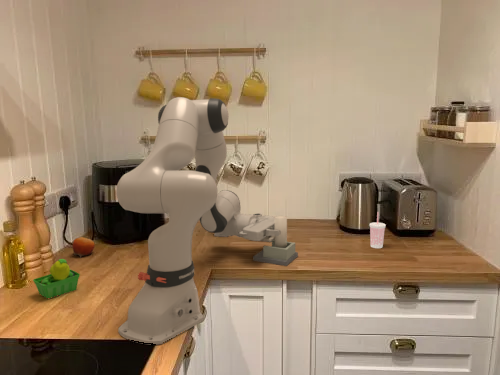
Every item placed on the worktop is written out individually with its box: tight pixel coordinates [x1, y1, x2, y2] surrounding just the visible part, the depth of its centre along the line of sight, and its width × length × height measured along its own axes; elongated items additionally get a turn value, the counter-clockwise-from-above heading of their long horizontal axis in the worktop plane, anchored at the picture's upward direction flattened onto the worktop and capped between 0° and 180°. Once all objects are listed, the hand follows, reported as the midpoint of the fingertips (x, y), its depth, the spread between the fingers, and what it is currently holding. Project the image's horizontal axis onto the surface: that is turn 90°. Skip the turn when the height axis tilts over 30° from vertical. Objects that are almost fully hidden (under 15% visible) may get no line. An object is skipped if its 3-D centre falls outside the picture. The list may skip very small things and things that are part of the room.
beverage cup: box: [368, 211, 387, 249], centre depth 165 cm, size 6×6×14 cm
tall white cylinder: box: [274, 215, 288, 248], centre depth 152 cm, size 4×4×12 cm
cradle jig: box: [252, 239, 299, 267], centre depth 154 cm, size 11×13×6 cm
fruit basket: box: [32, 258, 81, 299], centre depth 127 cm, size 11×9×11 cm
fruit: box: [71, 236, 95, 259], centre depth 161 cm, size 8×8×8 cm
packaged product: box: [250, 235, 275, 243], centre depth 183 cm, size 18×5×10 cm
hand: (283, 230), depth 152 cm, fingers closed on tall white cylinder, 4 cm apart
